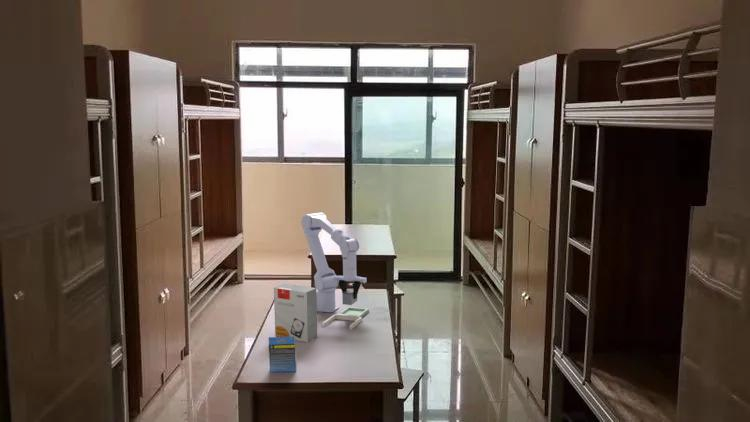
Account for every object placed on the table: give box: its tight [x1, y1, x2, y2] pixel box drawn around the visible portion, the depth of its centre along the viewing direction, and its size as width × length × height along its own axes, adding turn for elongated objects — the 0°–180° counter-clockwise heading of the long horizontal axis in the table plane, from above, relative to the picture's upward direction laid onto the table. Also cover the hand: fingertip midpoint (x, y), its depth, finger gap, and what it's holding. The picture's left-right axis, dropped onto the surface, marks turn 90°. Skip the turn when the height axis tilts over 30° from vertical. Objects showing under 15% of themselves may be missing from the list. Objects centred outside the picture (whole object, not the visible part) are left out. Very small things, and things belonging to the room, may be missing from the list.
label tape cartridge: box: [268, 336, 297, 373], centre depth 222 cm, size 9×4×12 cm, turn 92°
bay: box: [321, 313, 363, 330], centre depth 274 cm, size 13×12×2 cm
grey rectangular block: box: [341, 288, 358, 306], centre depth 281 cm, size 4×7×5 cm, turn 160°
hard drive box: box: [273, 283, 318, 343], centre depth 256 cm, size 16×8×20 cm, turn 62°
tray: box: [338, 306, 370, 318], centre depth 286 cm, size 10×12×2 cm
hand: (350, 298), depth 282 cm, fingers closed on grey rectangular block, 4 cm apart
